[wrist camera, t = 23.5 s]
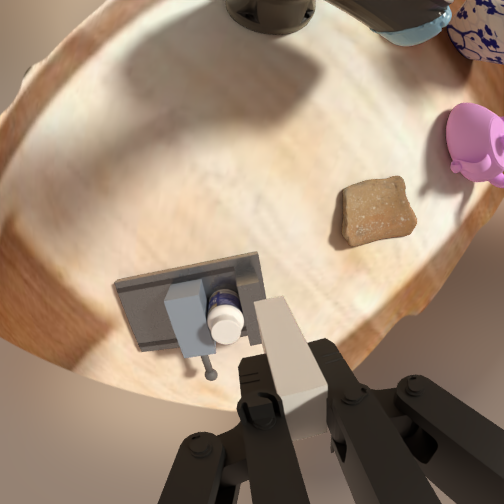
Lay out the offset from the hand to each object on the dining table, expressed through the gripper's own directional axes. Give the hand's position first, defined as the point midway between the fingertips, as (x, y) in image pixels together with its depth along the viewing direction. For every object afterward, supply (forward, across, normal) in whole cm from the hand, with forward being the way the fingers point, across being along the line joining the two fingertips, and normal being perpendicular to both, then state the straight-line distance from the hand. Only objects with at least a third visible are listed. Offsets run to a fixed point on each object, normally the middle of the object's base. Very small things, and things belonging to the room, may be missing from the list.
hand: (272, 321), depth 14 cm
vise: (+29, -10, -12) cm, 33 cm away
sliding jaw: (+28, -10, -16) cm, 33 cm away
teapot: (+30, +52, +8) cm, 60 cm away
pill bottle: (+28, -5, -12) cm, 31 cm away
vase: (+30, +62, +38) cm, 79 cm away
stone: (+30, +24, -2) cm, 39 cm away
